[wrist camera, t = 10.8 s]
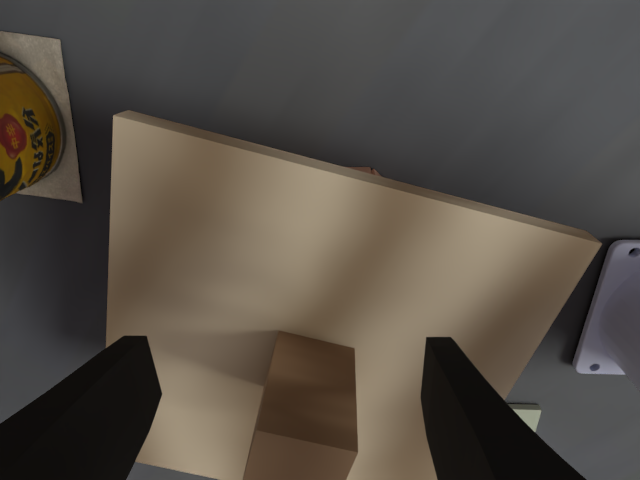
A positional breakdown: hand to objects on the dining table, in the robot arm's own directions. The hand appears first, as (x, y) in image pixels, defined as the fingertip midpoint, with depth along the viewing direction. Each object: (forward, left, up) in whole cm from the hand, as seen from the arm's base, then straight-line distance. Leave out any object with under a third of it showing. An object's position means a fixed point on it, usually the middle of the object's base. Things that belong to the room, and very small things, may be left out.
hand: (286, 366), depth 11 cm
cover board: (0, +4, -5) cm, 7 cm away
